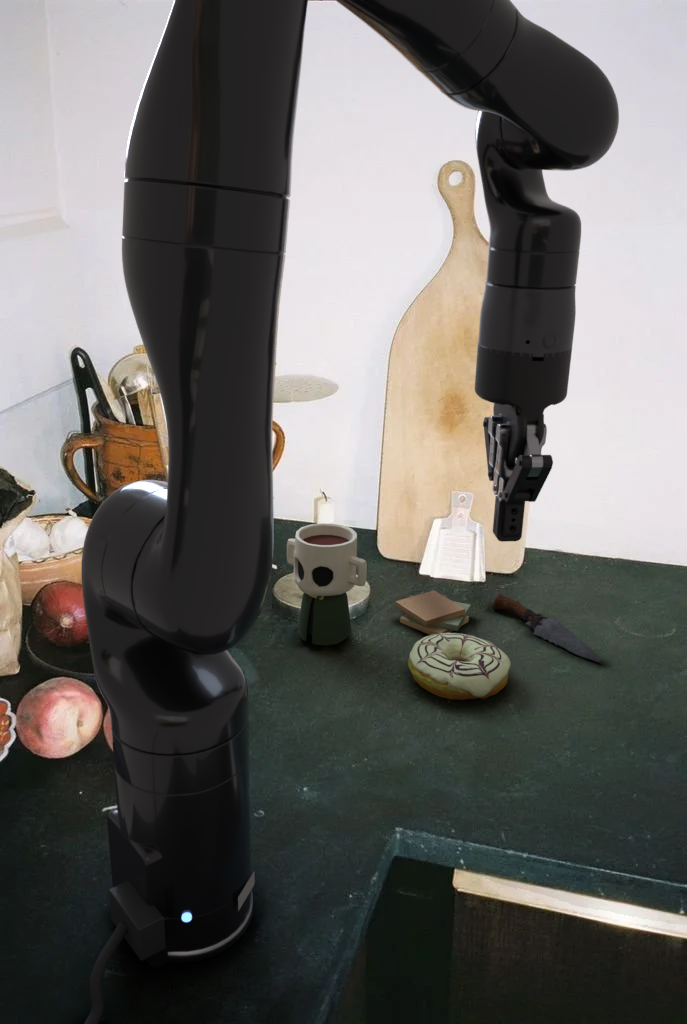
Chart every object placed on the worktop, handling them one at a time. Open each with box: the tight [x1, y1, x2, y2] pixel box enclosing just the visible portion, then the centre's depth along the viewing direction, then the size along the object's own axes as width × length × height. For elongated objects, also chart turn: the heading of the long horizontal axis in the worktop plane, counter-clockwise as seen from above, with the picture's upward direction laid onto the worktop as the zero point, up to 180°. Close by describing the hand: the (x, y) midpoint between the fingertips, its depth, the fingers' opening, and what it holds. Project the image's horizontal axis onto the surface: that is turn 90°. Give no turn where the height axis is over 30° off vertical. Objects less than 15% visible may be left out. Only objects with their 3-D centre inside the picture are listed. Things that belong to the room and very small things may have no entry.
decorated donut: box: [408, 632, 511, 701], centre depth 101 cm, size 10×11×4 cm
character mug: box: [286, 522, 368, 646], centre depth 108 cm, size 11×7×13 cm, turn 56°
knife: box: [492, 593, 602, 663], centre depth 111 cm, size 17×2×5 cm
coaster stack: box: [395, 589, 472, 636], centre depth 114 cm, size 9×8×2 cm
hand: (506, 538), depth 82 cm, fingers closed
